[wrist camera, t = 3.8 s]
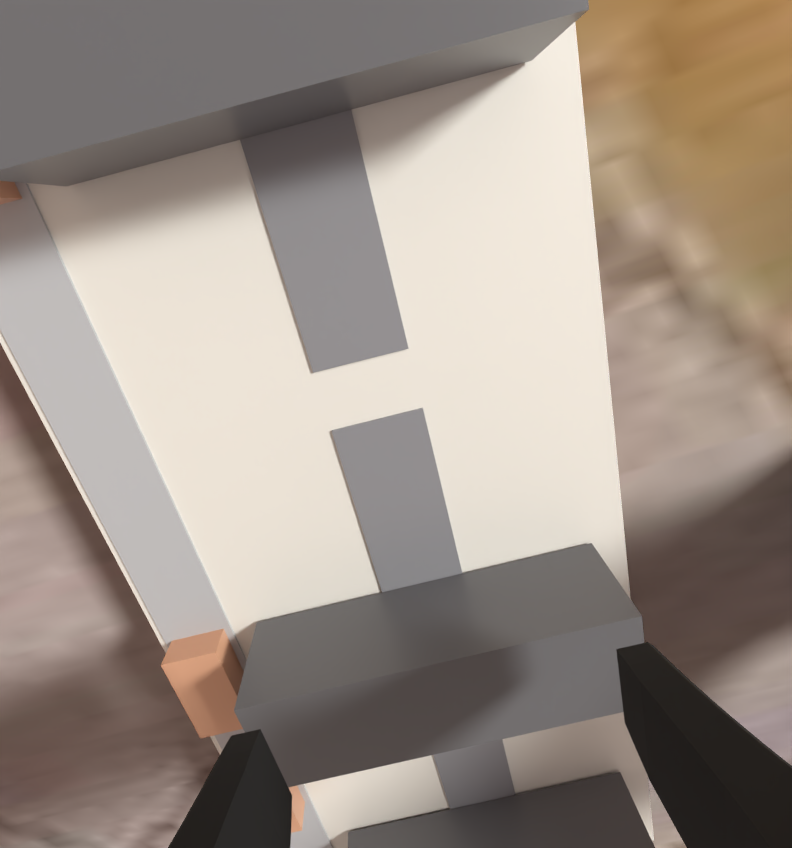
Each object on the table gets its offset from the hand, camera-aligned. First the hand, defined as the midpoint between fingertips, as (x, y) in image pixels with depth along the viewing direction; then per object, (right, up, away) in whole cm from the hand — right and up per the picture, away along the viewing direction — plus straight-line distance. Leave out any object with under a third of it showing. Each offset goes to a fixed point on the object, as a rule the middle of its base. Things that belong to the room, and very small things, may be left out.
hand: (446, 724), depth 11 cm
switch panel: (-2, +3, +7) cm, 7 cm away
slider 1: (-3, +14, 0) cm, 14 cm away
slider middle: (0, 0, +6) cm, 5 cm away
